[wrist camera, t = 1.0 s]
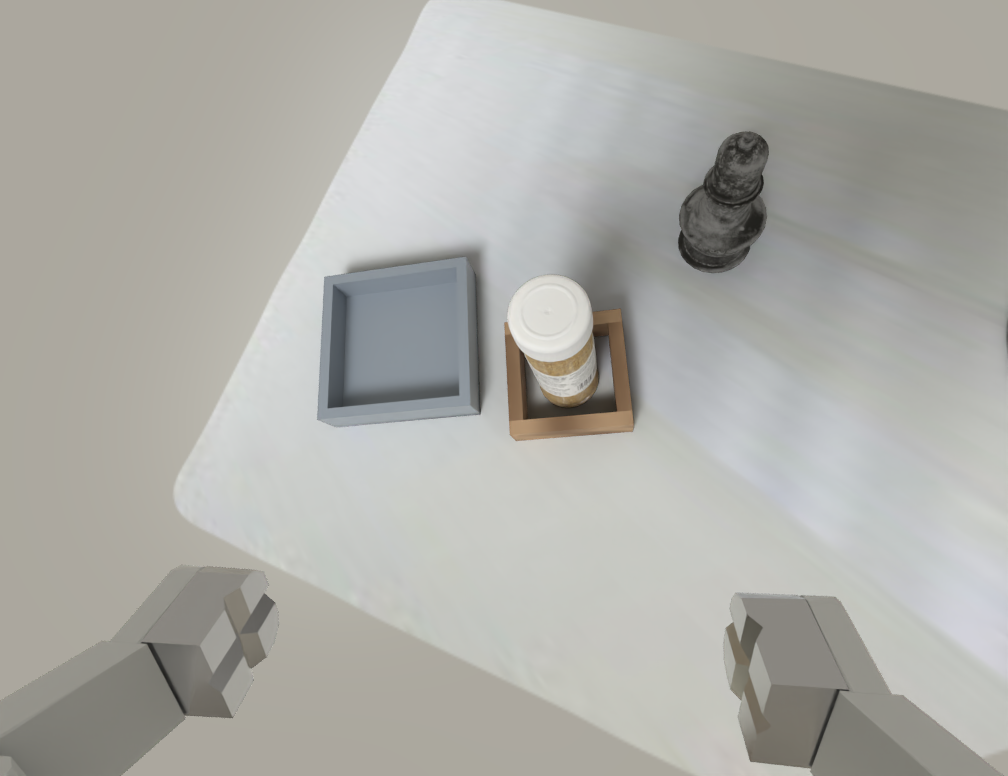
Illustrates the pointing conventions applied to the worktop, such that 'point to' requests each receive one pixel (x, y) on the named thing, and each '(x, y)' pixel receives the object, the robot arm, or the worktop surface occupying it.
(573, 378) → the sprinkles bottle
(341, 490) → the worktop surface
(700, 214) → the salt shaker
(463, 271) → the slate tray
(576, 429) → the walnut collar
